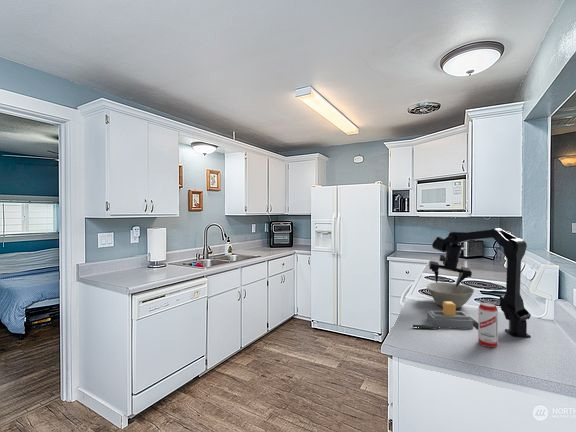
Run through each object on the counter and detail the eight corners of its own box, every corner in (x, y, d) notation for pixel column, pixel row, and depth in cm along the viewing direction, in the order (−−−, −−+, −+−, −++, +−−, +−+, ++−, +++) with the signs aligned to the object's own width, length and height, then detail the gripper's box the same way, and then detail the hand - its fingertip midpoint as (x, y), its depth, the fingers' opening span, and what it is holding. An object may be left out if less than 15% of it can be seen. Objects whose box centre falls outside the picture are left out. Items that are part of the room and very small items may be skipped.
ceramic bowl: (470, 302, 165) (470, 284, 165) (477, 316, 144) (477, 296, 144) (426, 297, 175) (426, 280, 174) (426, 310, 154) (426, 291, 153)
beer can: (479, 339, 121) (479, 300, 120) (498, 344, 117) (498, 303, 116) (477, 345, 116) (477, 304, 115) (496, 350, 112) (497, 308, 111)
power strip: (473, 328, 131) (473, 318, 131) (434, 327, 133) (434, 317, 133) (462, 319, 141) (462, 310, 141) (427, 318, 143) (427, 309, 143)
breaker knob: (455, 317, 135) (455, 304, 134) (446, 316, 135) (446, 303, 135) (451, 313, 138) (451, 301, 138) (442, 313, 139) (442, 301, 139)
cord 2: (482, 329, 130) (482, 325, 130) (478, 328, 131) (478, 325, 131) (470, 319, 141) (470, 316, 141) (466, 319, 141) (467, 316, 141)
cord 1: (439, 329, 131) (439, 326, 130) (413, 329, 132) (413, 325, 132) (438, 328, 132) (438, 324, 132) (412, 327, 133) (412, 324, 133)
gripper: (470, 254, 154) (463, 282, 158) (430, 247, 160) (425, 274, 163) (475, 261, 144) (467, 291, 147) (432, 254, 150) (426, 282, 153)
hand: (446, 284), depth 153 cm, fingers open, 9 cm apart
